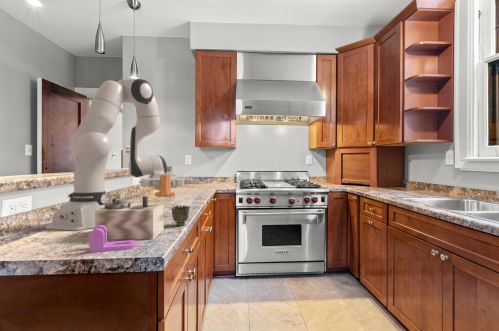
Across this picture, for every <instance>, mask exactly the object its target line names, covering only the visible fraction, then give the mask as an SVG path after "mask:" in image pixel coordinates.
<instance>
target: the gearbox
mask: <svg viewBox="0 0 499 331" xmlns="http://www.w3.org/2000/svg"><path fill="white" fill-rule="evenodd" d="M148 199H149V196H142V204H131V201H122V200H121V199H115V198H112V199H111V200H112V201H111V202H105V207H104V208H101V209H98V210H95V227H97V226H99V225H103V226H105V227H106V229H107V240H154V239H155V238H156V237H157V236H158V235H159V234H161V233H162V232H163V231H164V228H165V226H164V224H165V221H164V220H165V219H164V217H165V216H164V215H165V213H164V211H165V210H164V207H165V205H164V204H149V202H148V201H149V200H148Z"/></svg>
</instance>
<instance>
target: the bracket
mask: <svg viewBox="0 0 499 331" xmlns="http://www.w3.org/2000/svg"><path fill="white" fill-rule="evenodd" d="M138 246H139V245H138V241H137V240H135V239H128V240H118V241H108V239H107V229H106V227H105V226H103V225H99V226H97V227H95V228H93V230H92V231H91V232H90V233H89V254H90V253H91V252H93V253H102V252H114V251H124V250H133V249H135V248H136V249H137V247H138ZM91 254H92V253H91Z"/></svg>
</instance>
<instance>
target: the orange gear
mask: <svg viewBox="0 0 499 331" xmlns="http://www.w3.org/2000/svg"><path fill="white" fill-rule="evenodd" d="M171 175H172V174H167V175H160V185H159V190H158V192H154V196H155V197H157V198H171V197H175V196H176V192H175V191H174V192H172V188H171Z"/></svg>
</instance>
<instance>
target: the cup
mask: <svg viewBox="0 0 499 331" xmlns="http://www.w3.org/2000/svg"><path fill="white" fill-rule="evenodd" d="M171 213H172V215H171V216H172V219H173V220H172V221H174V222H175V226H177V227H183V226H185V223H186V221H187V220H188V219H189V214H190V206H189V205H176V206H175V205H173V207H171Z"/></svg>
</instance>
